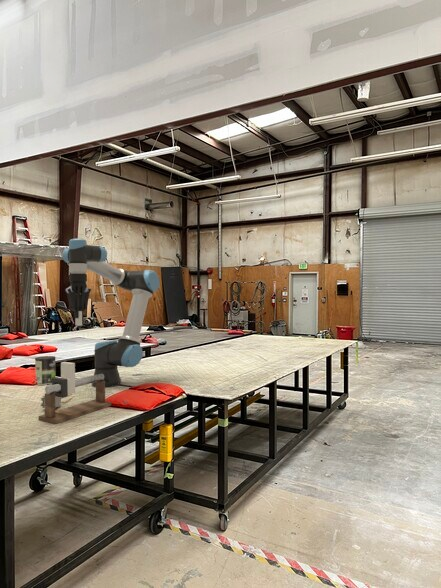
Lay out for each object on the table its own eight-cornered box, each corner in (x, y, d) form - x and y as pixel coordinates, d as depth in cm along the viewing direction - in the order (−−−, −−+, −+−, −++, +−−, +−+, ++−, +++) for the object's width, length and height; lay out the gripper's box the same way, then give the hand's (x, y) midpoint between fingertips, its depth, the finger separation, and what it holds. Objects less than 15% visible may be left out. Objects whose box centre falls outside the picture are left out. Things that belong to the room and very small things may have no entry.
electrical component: (62, 403, 190) (63, 392, 191) (75, 403, 190) (76, 392, 191) (40, 408, 166) (41, 395, 167) (54, 408, 166) (55, 395, 167)
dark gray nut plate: (56, 394, 160) (55, 377, 160) (67, 396, 156) (67, 378, 156) (52, 395, 158) (51, 377, 158) (63, 397, 155) (63, 379, 155)
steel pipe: (99, 380, 177) (99, 372, 177) (104, 381, 175) (104, 373, 175) (44, 394, 154) (44, 385, 154) (50, 395, 152) (50, 386, 152)
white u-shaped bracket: (65, 391, 163) (65, 361, 163) (75, 393, 160) (74, 363, 160) (56, 393, 160) (56, 363, 160) (66, 395, 157) (66, 364, 157)
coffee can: (58, 380, 224) (58, 355, 224) (50, 385, 214) (50, 358, 214) (40, 381, 225) (40, 356, 225) (31, 385, 214) (31, 359, 214)
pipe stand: (95, 402, 179) (95, 379, 179) (111, 405, 174) (111, 381, 174) (38, 419, 155) (38, 392, 155) (55, 424, 150) (54, 396, 150)
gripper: (84, 274, 189) (84, 324, 189) (60, 273, 177) (61, 326, 178) (95, 273, 185) (95, 324, 185) (71, 272, 174) (72, 326, 174)
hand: (78, 325), depth 181 cm, fingers closed
